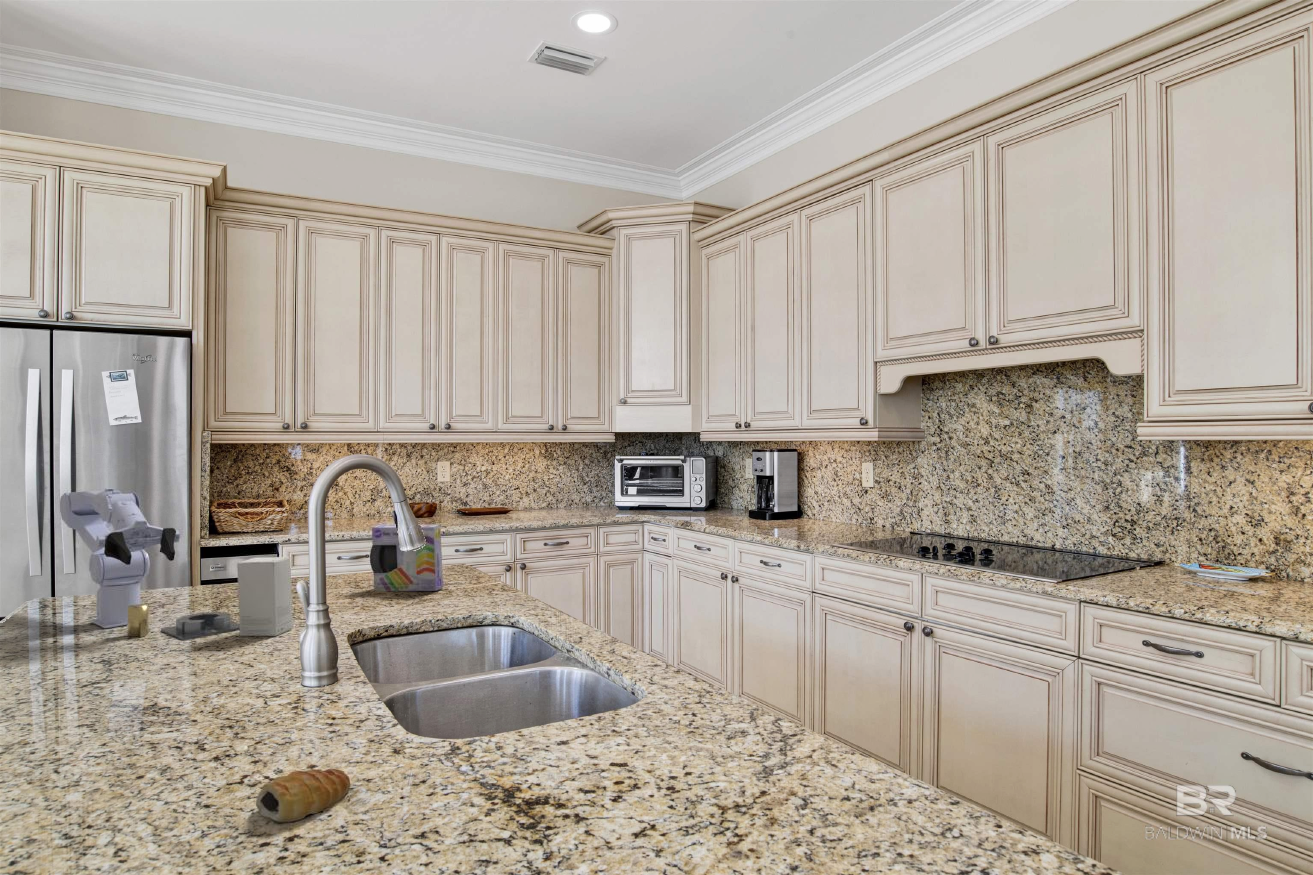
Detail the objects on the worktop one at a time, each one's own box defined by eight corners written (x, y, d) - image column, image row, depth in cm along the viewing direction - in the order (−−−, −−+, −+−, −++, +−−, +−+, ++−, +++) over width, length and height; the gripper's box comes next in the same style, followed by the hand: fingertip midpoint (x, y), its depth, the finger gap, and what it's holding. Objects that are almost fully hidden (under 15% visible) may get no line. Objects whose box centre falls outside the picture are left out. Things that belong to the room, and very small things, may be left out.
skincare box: (293, 629, 158) (293, 556, 158) (274, 637, 152) (274, 561, 152) (256, 628, 159) (256, 555, 159) (236, 636, 152) (236, 561, 152)
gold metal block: (125, 634, 154) (125, 605, 154) (145, 631, 156) (145, 602, 156) (133, 638, 151) (133, 609, 151) (153, 634, 153) (153, 606, 154)
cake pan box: (368, 590, 199) (368, 525, 199) (378, 586, 204) (378, 522, 204) (435, 593, 196) (435, 526, 196) (443, 589, 201) (443, 524, 201)
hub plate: (161, 630, 157) (161, 618, 157) (222, 619, 166) (222, 607, 166) (183, 640, 149) (183, 626, 149) (245, 628, 159) (245, 615, 159)
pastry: (329, 780, 88) (330, 748, 88) (364, 796, 85) (364, 763, 85) (250, 813, 81) (250, 778, 81) (283, 832, 77) (283, 795, 77)
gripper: (93, 511, 152) (111, 544, 144) (173, 508, 164) (194, 538, 156) (88, 541, 154) (106, 575, 146) (167, 536, 165) (188, 567, 157)
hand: (151, 558), depth 151 cm, fingers open, 7 cm apart
